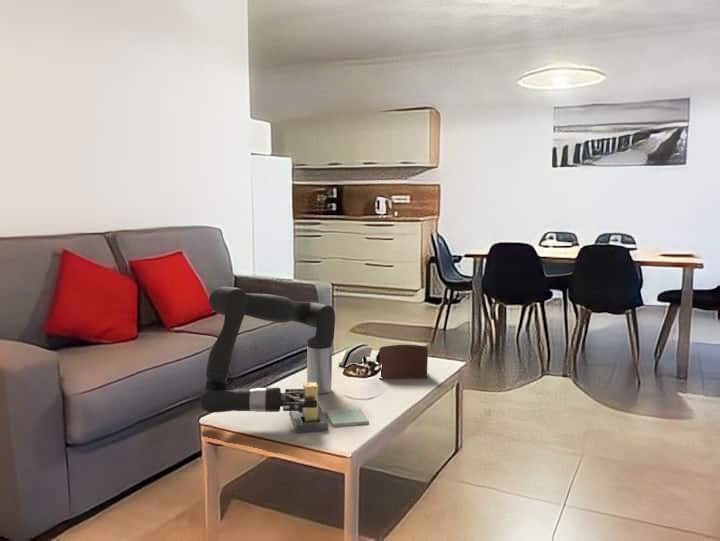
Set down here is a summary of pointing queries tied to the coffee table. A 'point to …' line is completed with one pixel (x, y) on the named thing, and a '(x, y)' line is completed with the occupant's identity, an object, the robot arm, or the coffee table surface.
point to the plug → (310, 394)
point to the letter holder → (403, 361)
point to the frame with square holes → (310, 426)
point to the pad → (346, 417)
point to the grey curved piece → (356, 354)
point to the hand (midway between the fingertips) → (316, 399)
